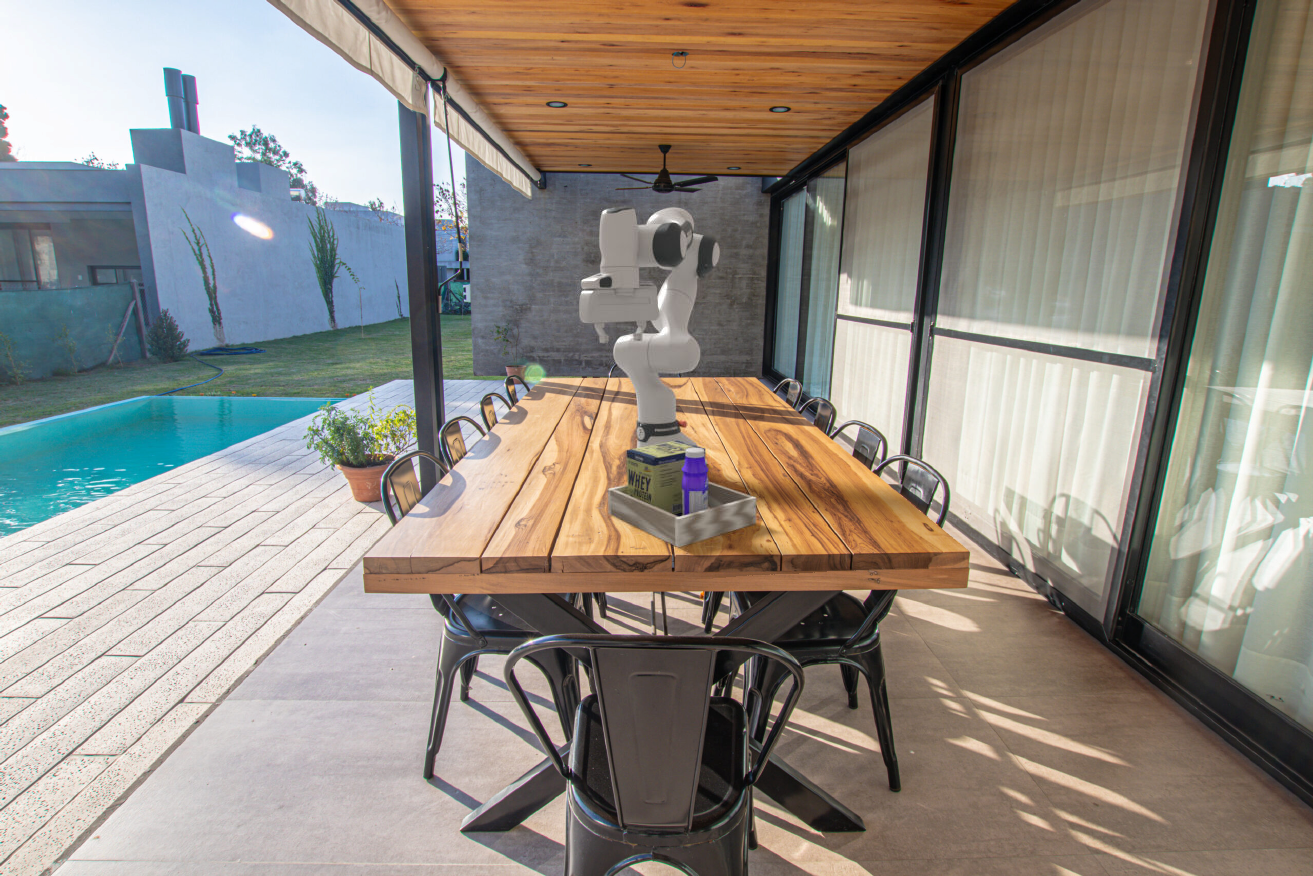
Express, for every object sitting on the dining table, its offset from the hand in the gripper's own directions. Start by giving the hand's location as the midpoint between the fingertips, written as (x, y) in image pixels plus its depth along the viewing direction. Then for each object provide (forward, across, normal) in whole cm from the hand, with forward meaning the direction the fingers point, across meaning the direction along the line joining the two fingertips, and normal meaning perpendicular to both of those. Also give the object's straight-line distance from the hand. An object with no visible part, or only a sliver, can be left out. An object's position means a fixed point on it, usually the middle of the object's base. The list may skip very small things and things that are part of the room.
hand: (621, 341), depth 149 cm
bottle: (+39, -2, +24) cm, 46 cm away
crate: (+39, -3, +18) cm, 43 cm away
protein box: (+39, -3, +13) cm, 42 cm away
